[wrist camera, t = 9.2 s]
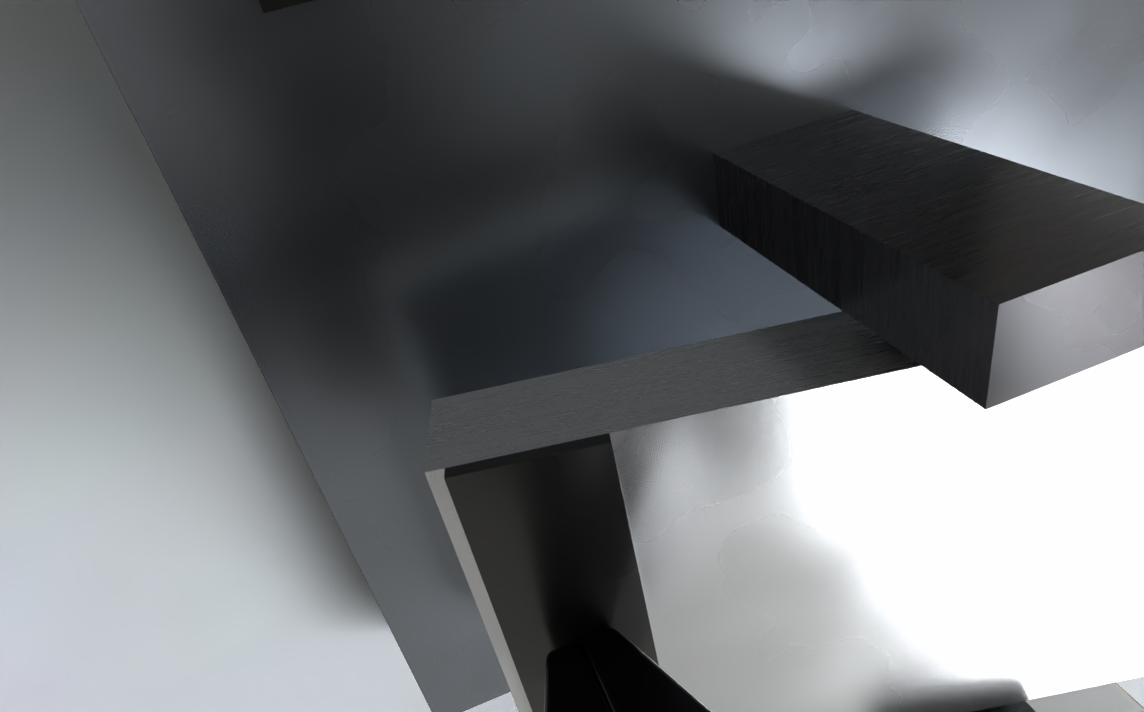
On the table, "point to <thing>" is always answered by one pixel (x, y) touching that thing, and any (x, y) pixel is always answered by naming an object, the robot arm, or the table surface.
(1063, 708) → the medicine bottle
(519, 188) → the panel
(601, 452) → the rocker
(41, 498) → the table surface
